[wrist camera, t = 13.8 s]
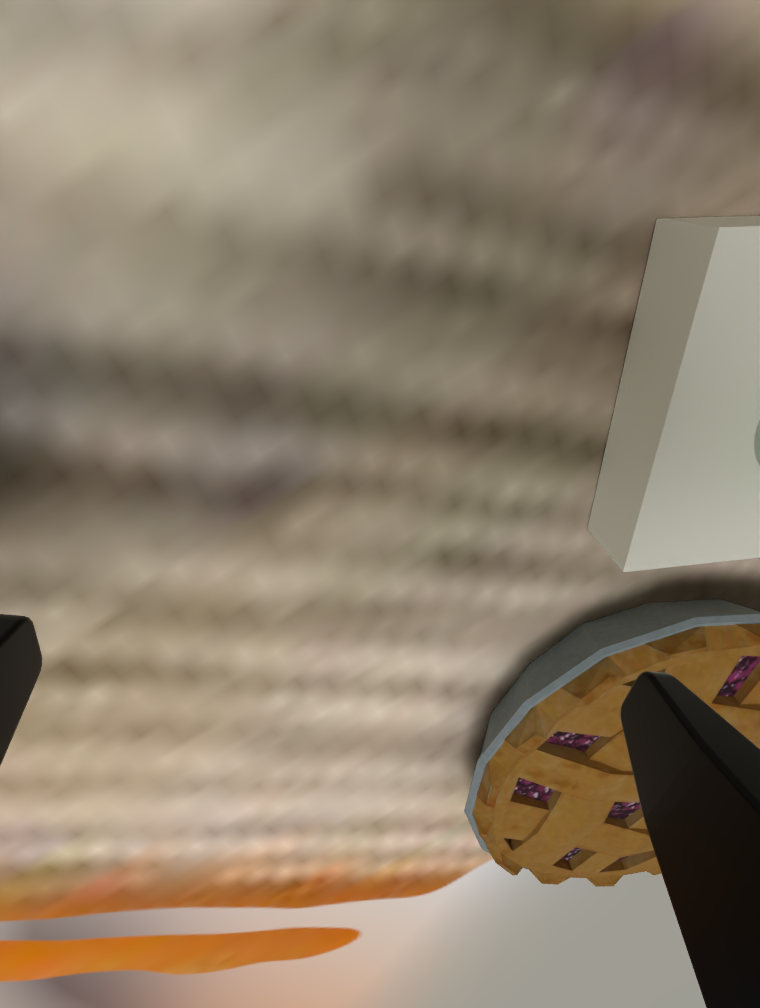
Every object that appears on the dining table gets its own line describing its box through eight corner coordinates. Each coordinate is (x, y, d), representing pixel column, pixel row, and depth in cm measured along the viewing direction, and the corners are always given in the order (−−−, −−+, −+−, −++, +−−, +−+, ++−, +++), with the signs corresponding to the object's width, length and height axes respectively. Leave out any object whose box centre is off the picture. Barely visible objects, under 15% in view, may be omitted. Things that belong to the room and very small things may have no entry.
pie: (407, 823, 35) (424, 914, 30) (537, 544, 24) (590, 624, 20) (691, 820, 40) (739, 897, 36) (899, 591, 29) (1001, 662, 25)
